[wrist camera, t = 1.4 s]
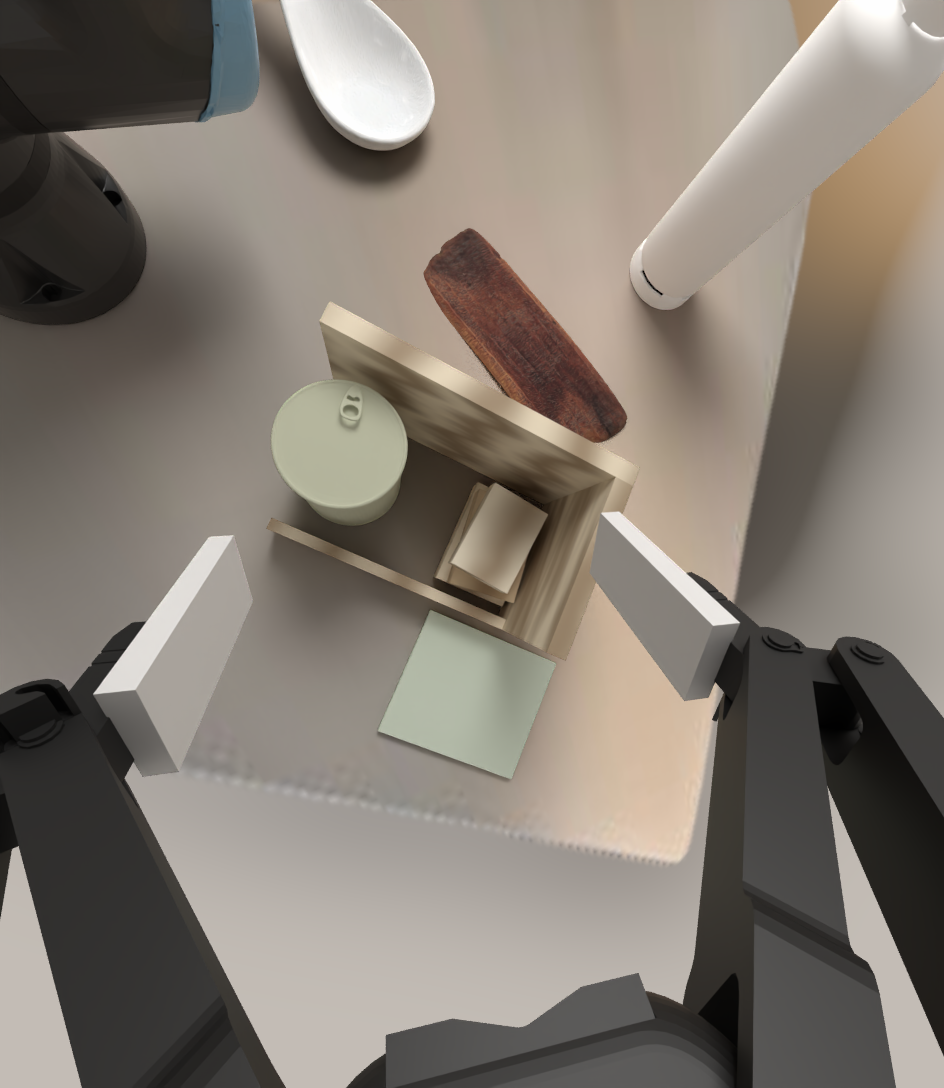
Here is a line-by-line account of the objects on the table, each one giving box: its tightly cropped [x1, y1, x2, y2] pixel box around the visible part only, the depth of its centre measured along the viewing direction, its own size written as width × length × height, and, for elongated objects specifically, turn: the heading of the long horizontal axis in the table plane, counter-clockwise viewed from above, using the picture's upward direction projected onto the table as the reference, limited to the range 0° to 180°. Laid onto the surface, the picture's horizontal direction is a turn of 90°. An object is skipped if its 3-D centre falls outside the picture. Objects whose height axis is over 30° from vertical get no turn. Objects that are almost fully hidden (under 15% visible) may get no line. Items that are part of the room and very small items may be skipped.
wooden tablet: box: [424, 228, 627, 443], centre depth 45 cm, size 26×2×10 cm
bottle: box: [629, 0, 944, 310], centre depth 36 cm, size 8×8×28 cm
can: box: [271, 380, 408, 526], centre depth 35 cm, size 9×9×12 cm
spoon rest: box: [279, 0, 435, 150], centre depth 39 cm, size 24×12×7 cm, turn 50°
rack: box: [266, 302, 640, 661], centre depth 35 cm, size 24×15×14 cm, turn 66°
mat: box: [378, 610, 556, 779], centre depth 42 cm, size 14×12×1 cm
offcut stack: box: [434, 482, 548, 606], centre depth 40 cm, size 7×10×6 cm
